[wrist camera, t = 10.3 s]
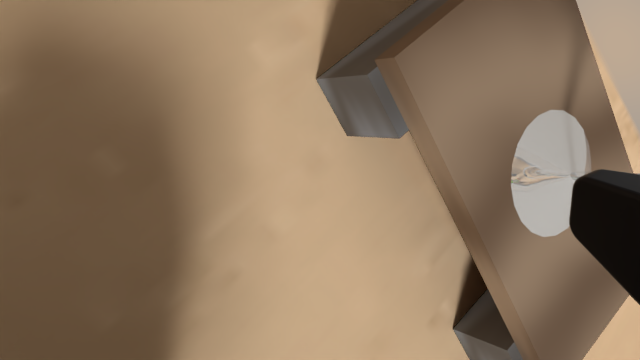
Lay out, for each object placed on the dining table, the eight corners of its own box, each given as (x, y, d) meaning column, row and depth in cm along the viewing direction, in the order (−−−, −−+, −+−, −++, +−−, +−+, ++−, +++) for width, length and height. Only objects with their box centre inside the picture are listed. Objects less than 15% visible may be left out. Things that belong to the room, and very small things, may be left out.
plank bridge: (587, 232, 32) (664, 245, 29) (475, 370, 28) (550, 404, 25) (476, -53, 26) (559, -78, 23) (312, 73, 22) (384, 66, 19)
